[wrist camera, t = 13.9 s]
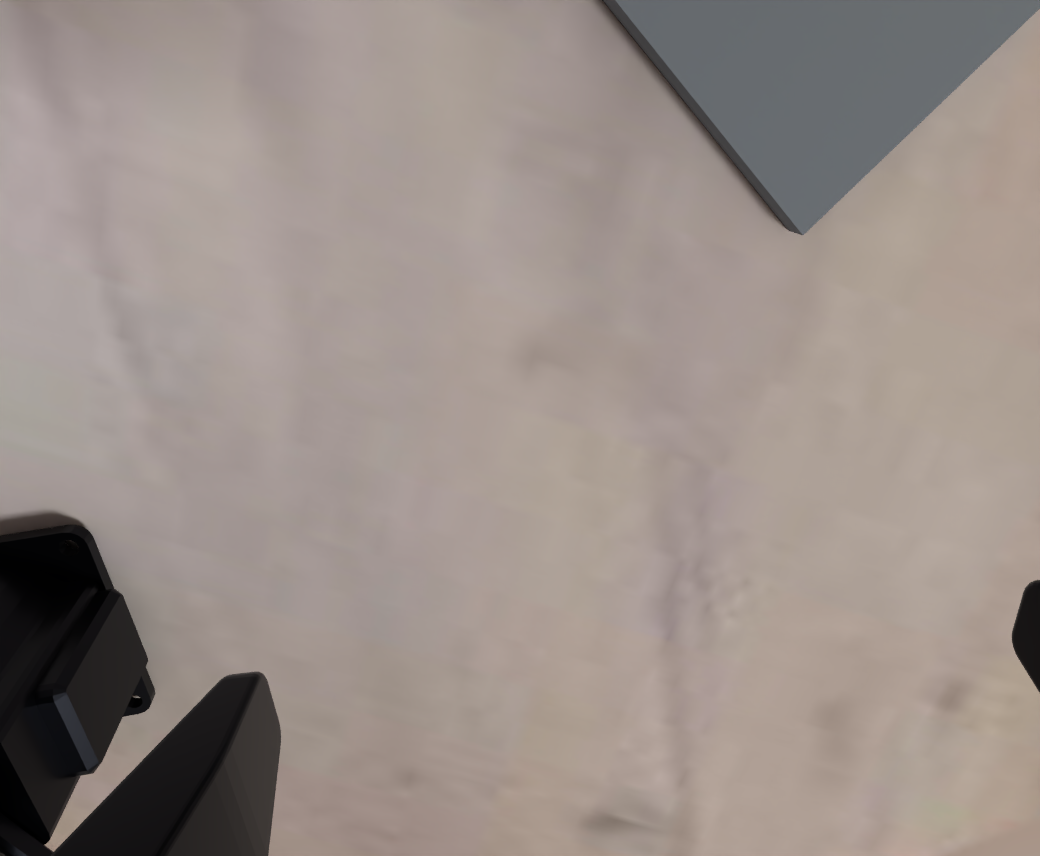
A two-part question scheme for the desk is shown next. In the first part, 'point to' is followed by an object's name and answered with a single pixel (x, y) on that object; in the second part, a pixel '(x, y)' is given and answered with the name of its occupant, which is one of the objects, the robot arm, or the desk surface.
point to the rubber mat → (816, 80)
